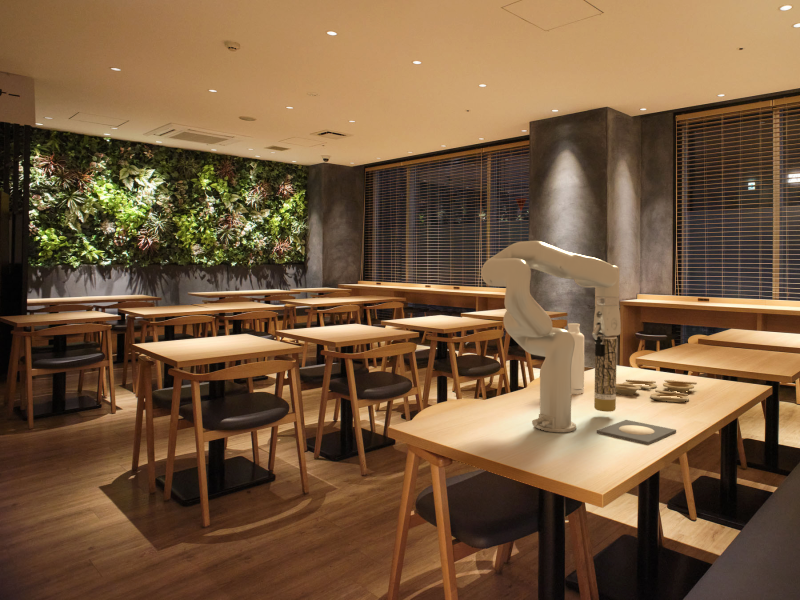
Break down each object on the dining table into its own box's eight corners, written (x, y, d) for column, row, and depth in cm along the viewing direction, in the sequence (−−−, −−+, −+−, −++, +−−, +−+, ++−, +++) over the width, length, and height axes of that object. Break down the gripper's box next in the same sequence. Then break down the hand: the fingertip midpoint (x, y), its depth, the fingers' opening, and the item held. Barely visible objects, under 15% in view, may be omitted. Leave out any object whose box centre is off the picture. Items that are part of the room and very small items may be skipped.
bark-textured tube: (617, 412, 186) (618, 337, 186) (595, 411, 188) (597, 337, 187) (613, 408, 193) (615, 335, 192) (592, 407, 194) (594, 335, 194)
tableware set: (684, 406, 205) (684, 395, 205) (603, 396, 223) (603, 386, 223) (701, 389, 233) (701, 380, 233) (627, 382, 251) (627, 373, 251)
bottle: (581, 395, 224) (581, 325, 223) (560, 392, 229) (561, 324, 227) (586, 391, 231) (586, 323, 230) (566, 389, 236) (566, 322, 234)
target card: (648, 444, 160) (648, 441, 160) (596, 432, 172) (596, 430, 172) (676, 432, 172) (676, 429, 172) (626, 422, 184) (626, 419, 184)
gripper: (603, 303, 181) (602, 358, 181) (630, 302, 192) (629, 354, 193) (582, 302, 186) (581, 356, 187) (609, 301, 198) (608, 351, 198)
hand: (605, 354), depth 190 cm, fingers closed on bark-textured tube, 6 cm apart
